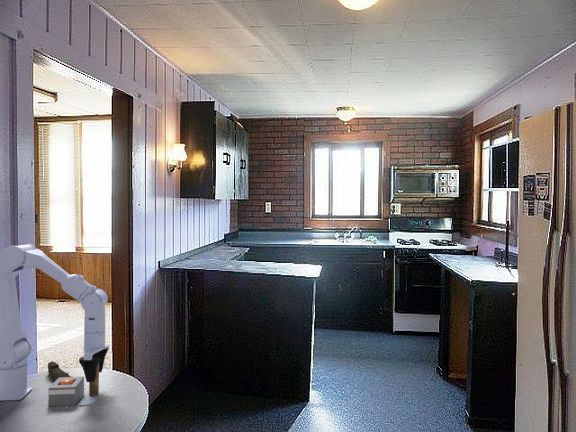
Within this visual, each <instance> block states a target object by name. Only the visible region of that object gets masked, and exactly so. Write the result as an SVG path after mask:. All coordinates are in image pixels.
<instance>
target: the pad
mask: <svg viewBox="0 0 576 432" xmlns="http://www.w3.org/2000/svg"><path fill="white" fill-rule="evenodd" d="M98 399H99V397H98V396H95V397H94V396H91V397H90V396H89V397H82V398H81V400H80V402H79V403H78V404H77V407H86V406H87V407H88V406H89V407H90V406H94V405H95V403H96V401H97V400H98Z"/></svg>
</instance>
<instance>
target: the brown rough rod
mask: <svg viewBox="0 0 576 432" xmlns="http://www.w3.org/2000/svg"><path fill="white" fill-rule="evenodd" d="M47 372H48V377H49V378H50V379H53V380H54V382H55V381H56V380H57V379H58V378H62V377H72V376H71V375H69V372H66V371H64V370H63V369H61V367H60V365H59V364H58V363H57V362H55V361H52V360H51V361H49V362H48V363H47Z"/></svg>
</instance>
